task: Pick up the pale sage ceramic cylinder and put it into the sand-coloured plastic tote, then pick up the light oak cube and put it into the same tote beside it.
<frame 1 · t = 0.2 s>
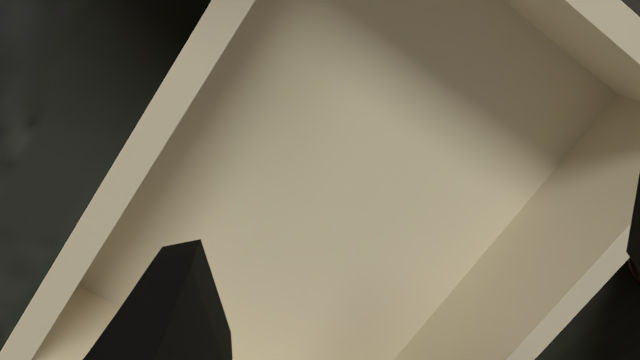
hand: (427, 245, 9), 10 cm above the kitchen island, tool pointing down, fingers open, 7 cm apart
tote: (340, 184, 20), on the kitchen island
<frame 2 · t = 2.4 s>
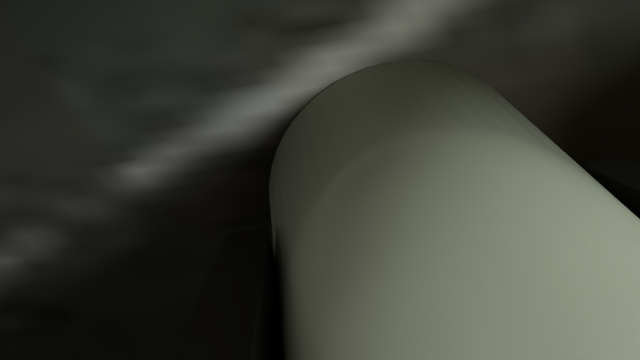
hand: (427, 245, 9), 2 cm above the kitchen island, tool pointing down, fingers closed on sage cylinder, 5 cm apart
sage cylinder: (398, 186, 11), on the kitchen island, touching gripper
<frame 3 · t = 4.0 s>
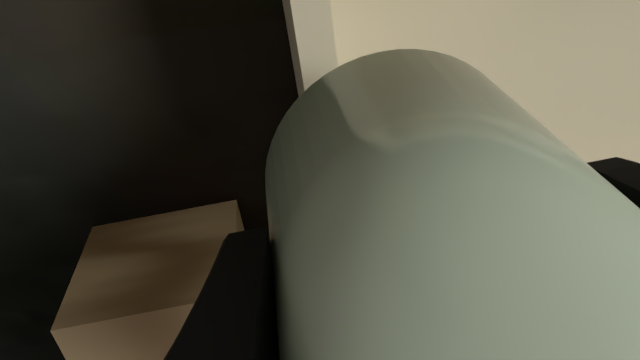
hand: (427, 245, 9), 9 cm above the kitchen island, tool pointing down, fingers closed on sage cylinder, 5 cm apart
tote: (565, 59, 18), on the kitchen island
oak cube: (184, 267, 20), on the kitchen island
sage cylinder: (393, 175, 11), point 7 cm above the kitchen island, touching gripper
when the fingers open (5 cm above the kitchen island, at t = 5.9 s): sage cylinder drops 3 cm, resting on tote.
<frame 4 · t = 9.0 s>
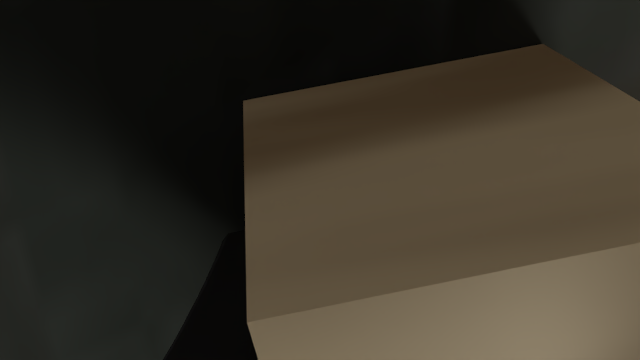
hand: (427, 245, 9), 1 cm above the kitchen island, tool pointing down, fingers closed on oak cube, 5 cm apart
oak cube: (405, 199, 10), on the kitchen island, touching gripper
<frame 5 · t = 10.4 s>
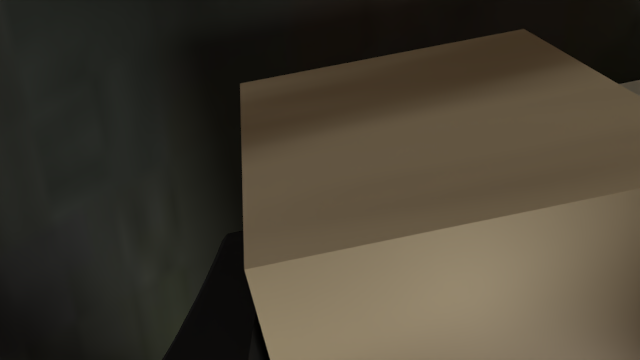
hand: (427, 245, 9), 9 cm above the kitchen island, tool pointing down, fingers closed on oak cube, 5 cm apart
oak cube: (395, 179, 11), point 6 cm above the kitchen island, touching gripper
when the fingers open (5 cm above the kitchen island, at t = 11.9 s): oak cube drops 3 cm, resting on tote.
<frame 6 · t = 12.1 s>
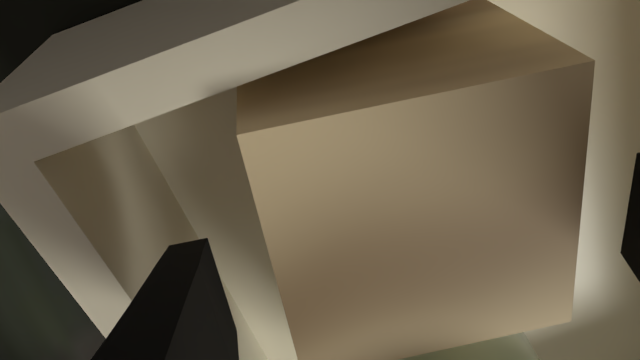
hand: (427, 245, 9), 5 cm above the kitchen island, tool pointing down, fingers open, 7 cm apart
tote: (439, 238, 16), on the kitchen island
oak cube: (366, 117, 13), point 1 cm above the kitchen island, touching tote
sage cylinder: (419, 320, 16), point 1 cm above the kitchen island, touching tote
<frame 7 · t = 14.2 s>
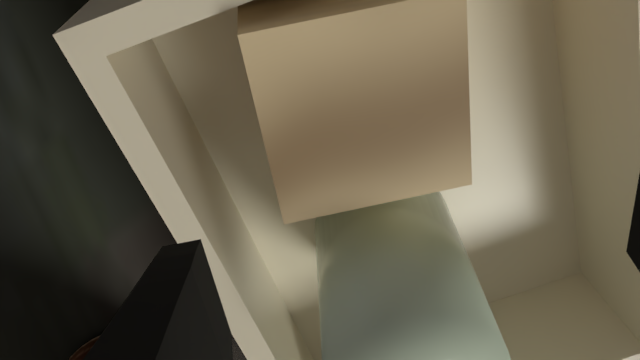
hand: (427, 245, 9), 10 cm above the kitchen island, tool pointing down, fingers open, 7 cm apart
tote: (397, 158, 20), on the kitchen island
oak cube: (335, 54, 17), point 1 cm above the kitchen island, touching tote
sage cylinder: (381, 226, 21), point 1 cm above the kitchen island, tilted 5°, touching tote
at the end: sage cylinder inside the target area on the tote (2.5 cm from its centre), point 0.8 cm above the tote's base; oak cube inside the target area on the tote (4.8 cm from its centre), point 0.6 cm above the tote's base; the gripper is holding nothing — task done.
